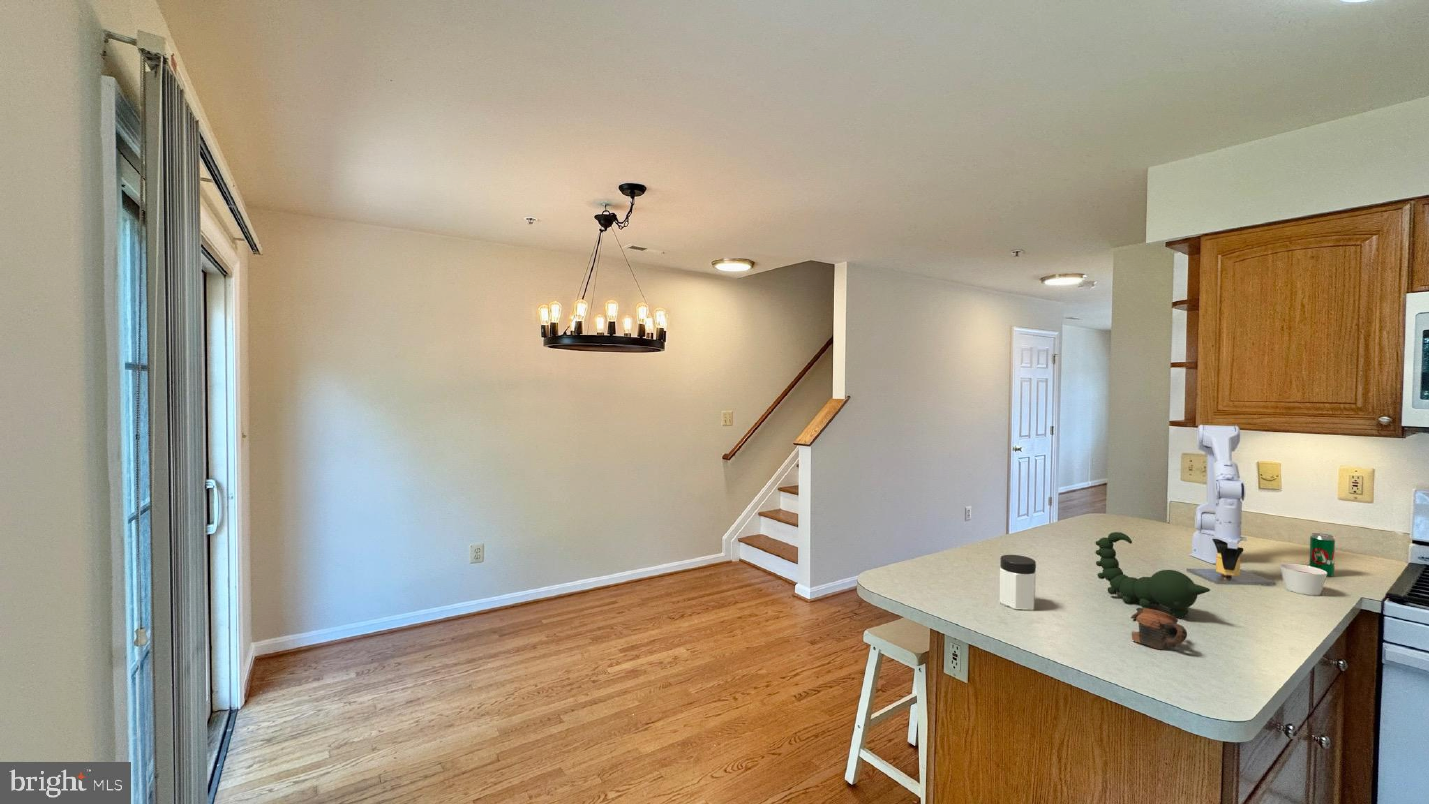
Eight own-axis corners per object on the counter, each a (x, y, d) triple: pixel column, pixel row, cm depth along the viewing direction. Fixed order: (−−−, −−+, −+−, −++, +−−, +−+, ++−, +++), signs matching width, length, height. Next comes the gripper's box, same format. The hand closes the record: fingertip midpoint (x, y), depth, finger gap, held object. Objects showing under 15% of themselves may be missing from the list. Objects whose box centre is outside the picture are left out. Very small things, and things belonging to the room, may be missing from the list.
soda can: (1322, 571, 170) (1323, 532, 170) (1339, 577, 165) (1340, 537, 165) (1304, 571, 170) (1305, 532, 170) (1320, 576, 165) (1321, 536, 165)
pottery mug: (1116, 638, 128) (1122, 603, 130) (1149, 654, 129) (1155, 618, 131) (1168, 648, 116) (1174, 609, 119) (1205, 665, 117) (1209, 626, 120)
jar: (1043, 607, 144) (1044, 561, 143) (1023, 613, 140) (1023, 566, 140) (1012, 596, 152) (1012, 552, 151) (991, 601, 148) (992, 556, 148)
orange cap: (1217, 573, 163) (1218, 556, 163) (1214, 568, 167) (1215, 551, 167) (1241, 576, 160) (1241, 559, 160) (1237, 571, 164) (1237, 554, 164)
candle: (1315, 588, 156) (1316, 566, 156) (1334, 599, 148) (1335, 576, 148) (1272, 583, 160) (1273, 561, 160) (1289, 594, 152) (1289, 571, 152)
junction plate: (1186, 571, 171) (1186, 558, 171) (1241, 571, 170) (1241, 559, 170) (1216, 583, 160) (1216, 570, 160) (1275, 584, 159) (1275, 571, 159)
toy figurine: (1091, 600, 152) (1201, 629, 130) (1086, 531, 153) (1195, 546, 131) (1113, 595, 156) (1223, 621, 133) (1108, 527, 157) (1216, 542, 134)
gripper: (1252, 528, 155) (1251, 576, 155) (1240, 517, 167) (1239, 562, 167) (1219, 524, 159) (1217, 572, 159) (1209, 514, 171) (1208, 558, 171)
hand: (1226, 567), depth 164 cm, fingers closed on orange cap, 5 cm apart
